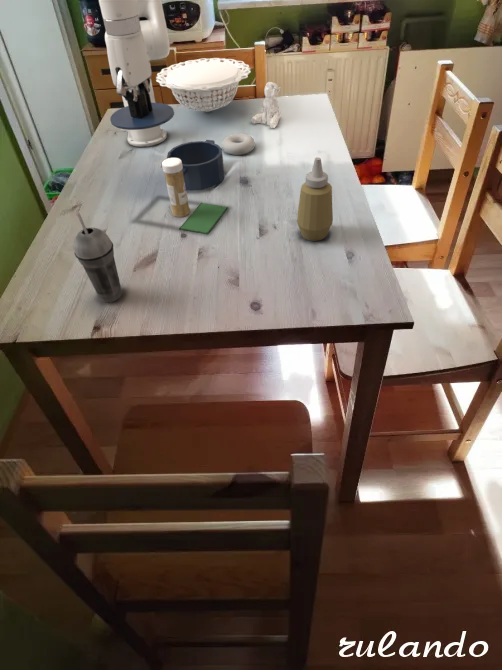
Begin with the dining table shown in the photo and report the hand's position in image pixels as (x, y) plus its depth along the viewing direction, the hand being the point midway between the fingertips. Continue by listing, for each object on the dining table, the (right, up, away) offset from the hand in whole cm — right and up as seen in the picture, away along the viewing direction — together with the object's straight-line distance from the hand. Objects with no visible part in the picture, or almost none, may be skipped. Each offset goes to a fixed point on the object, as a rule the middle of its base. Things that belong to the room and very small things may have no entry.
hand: (141, 113), depth 113 cm
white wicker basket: (+12, +24, +49) cm, 56 cm away
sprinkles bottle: (+9, -24, +2) cm, 26 cm away
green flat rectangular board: (+9, -24, +3) cm, 26 cm away
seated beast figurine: (+33, +16, +40) cm, 54 cm away
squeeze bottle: (+41, -31, -7) cm, 52 cm away
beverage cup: (-2, -46, -18) cm, 50 cm away
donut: (+23, +2, +27) cm, 35 cm away
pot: (+12, -11, +15) cm, 22 cm away
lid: (0, -1, +1) cm, 1 cm away
